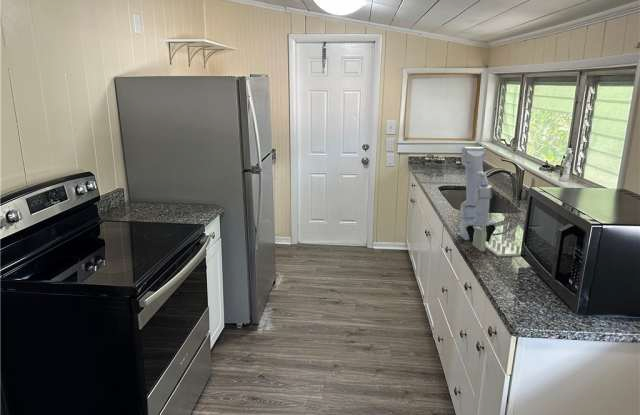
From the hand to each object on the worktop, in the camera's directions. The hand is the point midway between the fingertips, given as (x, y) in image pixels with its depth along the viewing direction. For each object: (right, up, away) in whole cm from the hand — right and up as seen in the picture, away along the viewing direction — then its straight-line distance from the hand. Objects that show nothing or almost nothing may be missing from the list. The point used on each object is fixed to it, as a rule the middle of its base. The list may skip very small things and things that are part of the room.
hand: (479, 241), depth 199 cm
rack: (+10, -3, -1) cm, 11 cm away
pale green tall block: (0, -3, +1) cm, 3 cm away
